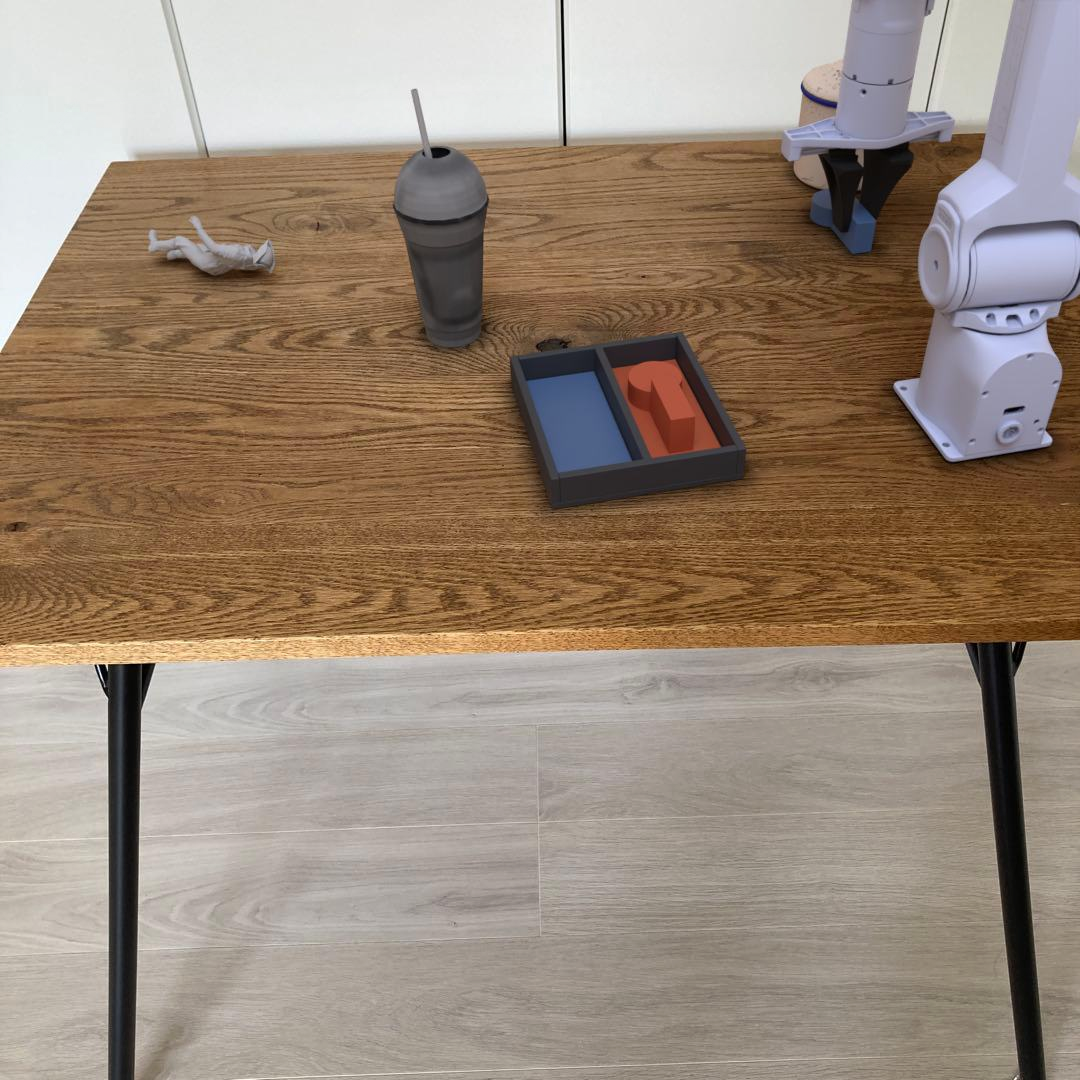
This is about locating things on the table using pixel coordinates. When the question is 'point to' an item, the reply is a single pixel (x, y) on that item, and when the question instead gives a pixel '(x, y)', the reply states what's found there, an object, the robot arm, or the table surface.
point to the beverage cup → (444, 237)
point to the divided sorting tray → (618, 422)
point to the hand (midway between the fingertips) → (853, 225)
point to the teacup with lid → (819, 117)
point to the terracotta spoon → (663, 402)
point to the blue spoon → (860, 225)
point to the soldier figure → (214, 252)
